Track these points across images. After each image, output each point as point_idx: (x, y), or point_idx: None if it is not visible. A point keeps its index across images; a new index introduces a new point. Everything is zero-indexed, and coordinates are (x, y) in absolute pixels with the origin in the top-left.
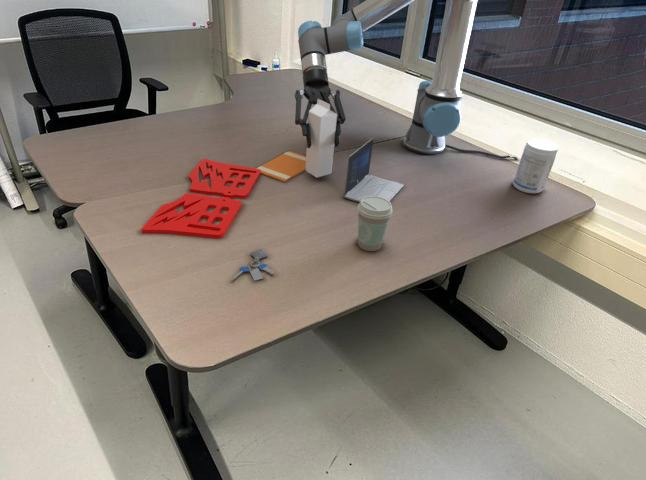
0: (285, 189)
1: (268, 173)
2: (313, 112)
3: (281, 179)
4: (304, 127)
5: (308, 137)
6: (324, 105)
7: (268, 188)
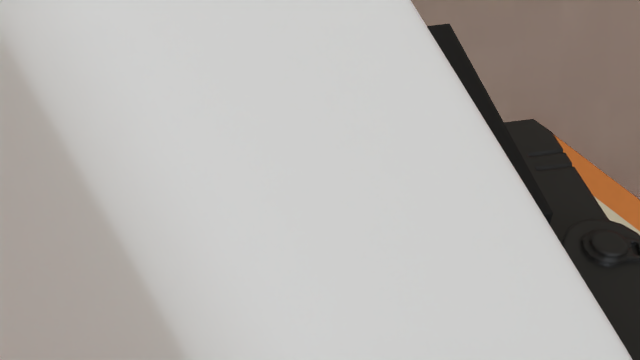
0: (528, 31)
1: (637, 220)
2: (512, 200)
3: (554, 135)
4: (560, 190)
5: (470, 69)
6: (50, 223)
7: (631, 41)
